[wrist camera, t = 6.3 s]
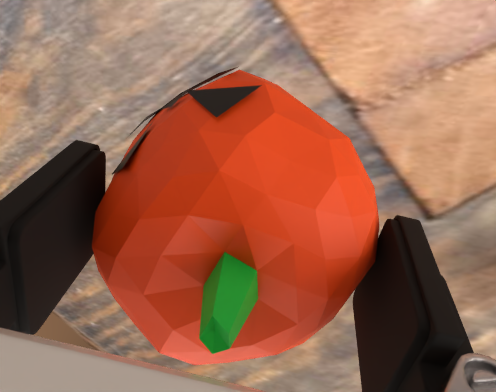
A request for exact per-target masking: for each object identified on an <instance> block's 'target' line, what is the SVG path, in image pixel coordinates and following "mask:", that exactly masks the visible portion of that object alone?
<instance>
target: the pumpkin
mask: <svg viewBox="0 0 496 392" xmlns="http://www.w3.org/2000/svg"><path fill="white" fill-rule="evenodd" d="M237 68H238V67H237ZM233 69H236V68H233ZM233 69H230V70H227V71H224V72H221V73H218V74H216V75H214V76H212V77H210V78H209V79H207V80H205V81H203V82H201V83H199V84H197V85H195V86H193V87H192V88H190V89H188V90H186V91H184V92H182V93H180V94H179V95H178V96H176V97H175V98H174V99H173V100H171V101H170V102H169V103H167V104H166V105H165V106H163V107H162V108H161V109H159V110H157V111H156V112H154V113H152V114H151V115H149V116H147V117H146V118H145V119H144V120H143V121H142V122H141V123H140V125H141V124H142V123H143V122H144V121H145V120H147V119H148V118H150V117H151V116H153V115H154V114H155V115H154V117H153V118H152V119H151V120H150V121H149V122H148V124H147V125H146V126H145V127H144V128H143V130H142V131H141V132H140V133H139V134H138V135H137V137H136V138H135V139H134V140H133V142H132V144H131V145H130V147H129V149H128V151H127V152H126V154H125V156H124V158H123V160H122V161H121V163H120V164H119V166H118V167H117V168H116V169H115V171H114V172H113V173H112V174H114V173H115V174H114V176H113V178H112V181H111V183H110V185H109V187H108V189H107V191H106V193H105V195H104V196H103V198H102V200H101V202H100V204H99V206H98V208H97V210H96V212H95V221H94V230H93V239H92V249H93V253H94V256H95V260H96V264H97V267H98V271H99V272H100V274H101V276H102V278H103V279H104V281H105V283H106V285H107V286H108V288H109V290H110V292H111V293H112V295H113V297H114V299H115V300H116V301H117V302H118V304H119V305H120V306H121V307H122V309H123V310H124V311H125V313H126V314H127V315H128V316H129V318H130V319H131V320H132V321H133V323H134V324H135V325H136V326H137V328H138V329H139V330H140V331H141V332H142V333H143V335H144V336H145V337H146V338H147V339H148V340H149V341H150V343H151V344H152V345H153V346H154V347H155V348H156V350H157V351H158V352H159V353H161V354H164V355H167V356H170V357H173V358H175V359H178V360H181V361H184V362H187V363H190V364H193V365H202V364H216V363H229V362H235V361H241V360H247V359H253V358H259V357H266V356H272V355H277V354H279V353H282V352H284V351H286V350H288V349H291V348H293V347H295V346H297V345H300V344H302V343H304V342H305V341H306V340H308V339H309V338H310V337H311V336H313V335H314V334H315V333H316V332H318V331H319V330H320V329H321V328H322V327H324V326H325V325H326V324H327V323H329V322H330V321H331V320H332V319H333V318H334V317H335V316H336V314H337V313H338V312H339V310H340V309H341V308H342V306H343V305H344V304H345V302H346V301H347V299H348V298H349V297H350V295H351V294H352V293H353V291H354V290H355V289H356V287H357V286H358V285H359V283H360V282H361V280H362V279H363V278H364V276H365V275H366V273H367V272H368V271H369V269H370V268H371V267H372V265H373V264H374V262H375V260H376V251H377V242H378V233H379V218H378V210H377V203H376V196H375V190H374V186H373V184H372V182H371V180H370V178H369V177H368V175H367V173H366V171H365V169H364V167H363V165H362V163H361V161H360V159H359V157H358V155H357V153H356V151H355V149H354V147H353V145H352V143H351V141H350V139H349V138H348V137H347V136H346V135H344V134H343V133H342V132H340V131H339V130H338V129H336V128H335V127H333V126H332V125H331V124H329V123H328V122H327V121H325V120H324V119H323V118H321V117H320V116H319V115H317V114H316V113H315V112H313V111H312V110H311V109H309V108H308V107H307V106H305V105H304V104H303V103H301V102H300V101H299V100H297V99H296V98H294V97H293V96H292V95H290V94H289V93H288V92H286V91H285V90H284V89H282V88H281V87H280V86H278V85H276V84H274V83H272V82H270V81H267V80H265V79H263V78H260V77H257V76H255V75H252V74H249V73H247V72H244V71H241V70H238V71H236V72H233V73H231V74H229V75H227V76H224V77H222V78H220V79H218V80H216V81H213V82H211V83H209V84H207V85H205V86H203V87H200V88H198V89H196V90H193V89H195V88H197V87H199V86H201V85H203V84H205V83H207V82H209V81H211V80H213V79H215V78H217V77H219V76H221V75H223V74H225V73H227V72H229V71H231V70H233ZM187 92H188V93H187ZM186 93H187V94H186ZM184 94H185V95H184ZM183 95H184V96H183ZM140 125H139V126H140ZM139 126H138V127H139ZM138 127H137V128H138ZM137 128H136V129H137ZM136 129H135V130H136ZM135 130H134V131H135ZM134 131H133V132H134ZM133 132H132V133H133ZM132 133H131V134H132Z"/></svg>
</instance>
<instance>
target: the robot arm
mask: <svg viewBox="0 0 496 392" xmlns="http://www.w3.org/2000/svg"><path fill="white" fill-rule="evenodd" d="M105 172H106V156H105V153H104V152H102V151H100V148H99V146H98V145H95V144H91V143H87V142H83V141H78V140H76V141H74V142H73V143H71V144H70V145H69V146H68V147H66V148H65V149H64V150H63V151H61V152H60V153H59V154H58V155H56V156H55V157H54V158H53V159H52V160H50V161H49V162H48V163H47V164H45V165H44V166H43V167H42V168H40V169H39V170H38V171H37V172H35V173H34V174H33V175H32V176H30V177H29V178H28V179H27V180H25V181H24V182H23V183H22V184H20V185H19V186H18V187H17V188H16V189H14V190H13V191H12V192H11V193H9V194H8V195H7V196H6V197H4V198H3V199H2V200H1V201H0V392H266V391H262V390H258V389H254V388H249V387H245V386H241V385H237V384H233V383H229V382H225V381H221V380H217V379H213V378H209V377H204V376H200V375H196V374H192V373H188V372H184V371H180V370H176V369H172V368H167V367H163V366H159V365H155V364H151V363H147V362H143V361H138V360H134V359H130V358H126V357H122V356H118V355H114V354H109V353H105V352H101V351H97V350H93V349H88V348H84V347H79V346H75V345H71V344H67V343H63V342H59V341H55V340H50V339H46V338H42V337H38V336H33V334H35V333H36V332H37V331H38V330H39V329H40V327H41V326H42V325H43V323H44V322H45V320H46V319H47V318H48V316H49V315H50V313H51V312H52V311H53V309H54V308H55V307H56V305H57V304H58V302H59V301H60V300H61V298H62V297H63V295H64V294H65V293H66V291H67V290H68V288H69V287H70V286H71V284H72V283H73V282H74V280H75V279H76V277H77V276H78V275H79V273H80V272H81V270H82V269H83V268H84V266H85V265H86V263H87V262H88V261H89V259H90V258H91V257H92V255H93V254H94V253H93V249H92V239H93V230H94V221H95V212H96V210H97V208H98V206H99V204H100V202H101V200H102V198H103V196H104V195H105ZM353 310H354V320H355V329H356V338H357V347H358V357H359V366H360V375H361V384H362V392H496V360H495V359H493V358H491V357H489V356H485V355H482V354H478V353H474V352H473V350H472V347H471V344H470V342H469V339H468V337H467V334H466V332H465V329H464V327H463V324H462V322H461V319H460V317H459V314H458V311H457V309H456V306H455V304H454V301H453V299H452V296H451V294H450V291H449V289H448V286H447V283H446V281H445V279H444V278H443V276H441V274H440V272H439V269H438V267H437V264H436V261H435V259H434V256H433V254H432V251H431V249H430V246H429V243H428V241H427V238H426V236H425V233H424V230H423V228H422V225H421V223H420V221H419V220H416V219H412V218H407V217H403V216H399V215H397V216H396V217H395V218H394V219H387V221H386V222H385V224H384V226H383V229H382V231H381V233H380V235H379V238H378V242H377V251H376V260H375V262H374V264H373V265H372V267H371V268H370V269H369V271H368V272H367V273H366V275H365V276H364V278H363V279H362V280H361V282H360V283H359V285H358V286H357V287H356V289H355V292H354V296H353ZM29 334H31V335H29Z"/></svg>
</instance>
